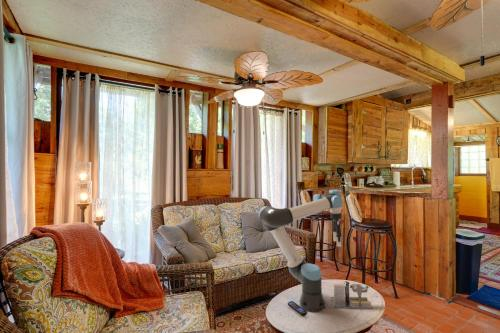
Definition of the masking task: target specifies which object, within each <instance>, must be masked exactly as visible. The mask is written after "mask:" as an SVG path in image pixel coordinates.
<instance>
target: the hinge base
mask: <svg viewBox="0 0 500 333" xmlns="http://www.w3.org/2000/svg"><path fill="white" fill-rule="evenodd" d="M332 285H333V289H332V290H333V296H330V297H329V298H330V301H331V305H332V307H333V309H358V310H359V309H361V310H363V309H364V310H372V309H373V308H372V305H371V304H370V302H369V300H368V297H366V296H361V302H359V300H358V296H350V282H349V281H346V280H345V281H344V282H343V283H333V284H332Z"/></svg>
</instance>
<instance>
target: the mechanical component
mask: <svg viewBox="0 0 500 333" xmlns="http://www.w3.org/2000/svg"><path fill="white" fill-rule="evenodd" d="M349 289H351V290H352V292H353V293H357V297H358V300H359V302H361V297H362V295H363V294H364V293H367V292H368V289H369V285H366V284H365V285H364V286H363V285H362V284H359V283H354V284H353V283H351V284H349ZM362 293H363V294H362Z"/></svg>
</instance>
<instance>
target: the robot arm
mask: <svg viewBox="0 0 500 333" xmlns="http://www.w3.org/2000/svg"><path fill="white" fill-rule="evenodd" d="M341 195H342V193H341V190H339V189H331V190H329V191H328V193H316V194H314V195H313V199H312V201H309V202H305V203H303V204H300V205H296V206H293V207H290V208H289V207H283V208H276V207H273V206H271V205H266V206H263V207H261V208H260V210H259V212H258V220H259V222H261V223H262V224H263V226H264V227H265V229H266V230H267V232H269V233H271V234H272V236H273V237H274V240H275V241H276V243H277V245H278V247H279V248H280V250H281V252H282V254H283V255H284V257H285V259H286V261H287V264H286V265H287V267H288V271H289V273H290V275H291V276H292V277H293V278H294V279H295V280H297V281H299V283H301V294H300V299H299V306H301V307H302V308H303V309H302V308H301V307H300V308H301V309H302V310H304V309H305V311H307V312H313V313H314V312H315V313H317V312H321V311H323V310H325V309H326V301H325V297H324V295H323V292H322V289H323V287H322V270H321V268H320V266H318V265H317V264H315V263H314V264H313V263H307V261H306V259H305V258H304V256H303V255H301V254H300V253H299V252H298V250H297V248H296V246H295V245H294V242H293V241H292V239H291V238H290V235H289V234H288V232H287V230H286V229H285V227H284V226H288V225H290V224H293V223H294V221H297V220H300V219H303V218H305V217H309V216H312V215H315V214H318V213H321V212H324V211H328V210H329V215H330V219H331V220H332V234H333V235H332V236H333V242H336V247H339V248H341V247H342V230H341V221H340V220H341V219H342V218H343V214H342V210H343V207H342V206H343V204H344V201H343V197H342V196H341Z"/></svg>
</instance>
